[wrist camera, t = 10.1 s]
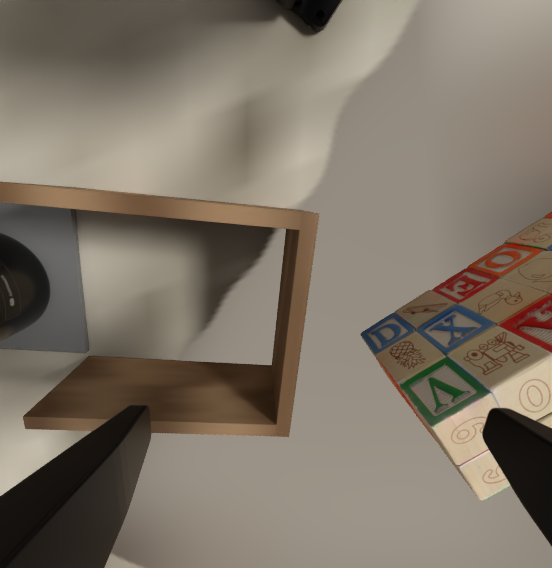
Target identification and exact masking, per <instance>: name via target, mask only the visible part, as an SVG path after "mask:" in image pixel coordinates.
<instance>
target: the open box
mask: <svg viewBox="0 0 552 568" xmlns="http://www.w3.org/2000/svg"><path fill="white" fill-rule="evenodd" d="M0 202H6V203H16V204H27V205H38V206H48V207H59V208H70V209H81V210H91V211H102V212H113V213H123V214H134V215H145V216H156V217H166V218H177V219H188V220H198V221H209V222H220V223H231V224H241V225H252V226H263V227H273V228H284V229H286V237H285V246H284V256H283V264H282V274H281V283H280V293H279V303H278V312H277V321H276V331H275V341H274V350H273V359H272V365H253V364H232V363H214V362H213V363H212V362H194V361H175V360H156V359H136V358H117V357H97V356H89V357H88V358H87V359H86V360H84V361H83V362H82V363H81V364H80V365H79V366H78V367H77V368H76V369H75V370H73V371H72V372H71V373H70V374H69V375H68V376H67V377H66V378H65V379H64V380H62V381H61V382H60V383H59V384H58V385H57V386H56V387H55V388H54V389H53V390H51V391H50V392H49V393H48V394H47V395H46V396H45V397H44V398H43V399H42V400H41V401H39V402H38V403H37V404H36V405H35V406H34V407H33V408H32V409H31V410H30V411H28V412H27V413H26V414H25V415H24V416H23V420H24V425H25V429H48V430H82V431H94V430H95V429H96V428H98V427H99V426H101V425H102V424H103V423H105V422H106V421H108V420H109V419H111V418H112V417H113V416H115V415H116V414H118V413H119V412H120V411H122V410H123V409H125V408H126V407H128V406H129V405H132V404H146V405H148V406H149V409H150V420H151V433H181V434H215V435H216V434H217V435H248V436H282V437H289V432H290V425H291V417H292V410H293V402H294V396H295V388H296V381H297V373H298V366H299V359H300V352H301V344H302V337H303V330H304V322H305V315H306V307H307V300H308V292H309V285H310V278H311V271H312V263H313V256H314V249H315V241H316V234H317V227H318V219H319V214H318V213H313V212H308V211H303V210H296V209H286V208H276V207H266V206H256V205H245V204H235V203H225V202H215V201H205V200H195V199H185V198H175V197H165V196H155V195H145V194H135V193H125V192H115V191H105V190H95V189H85V188H75V187H62V186H49V185H36V184H23V183H10V182H0Z"/></svg>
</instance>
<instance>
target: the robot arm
mask: <svg viewBox="0 0 552 568" xmlns="http://www.w3.org/2000/svg"><path fill="white" fill-rule="evenodd" d="M277 1H278V2H279V3H280V4H281V5H282V6H283V7H284V8H286V9H292V10H293V11H294V12H295V13H296V14H297V15H298V16H299V17H300V18H302V19H303V20H304V21H305V22H306V23H307V24H308V25H309V26H310V27H311V28H312V29H313V30H315V31H322V30H323V29H324V28H325V27H326V25H327V24H328V22H329V21H330V19H331V18H332V16H333V14H334V13H335V11H336V10H337V8H338V7H339V5H340V3H341V2H342V0H277ZM316 15H321V16H322V18H323V21H320V22H319V21H317V20H316V18H315V16H316ZM482 436H483V440H484V442H485V444H486V446H487V447H488V449H489V451H490V452H491V454H492V456H493V457H494V459H495V460H496V462H497V464H498V465H499V467H500V469H501V470H502V472H503V474H504V475H505V477H506V479H507V480H508V482H509V484H510V485H511V487H512V488H513V490H514V492H515V493H516V495H517V497H518V498H519V500H520V501H521V503H522V504H523V506H524V507H525V509H526V510H527V512H528V513H529V515H530V516H531V518H532V519H533V521H534V522H535V523H536V525H537V526H538V528H539V529H540V530H541V532H542V533H543V535H544V536H545V537H546V539H547V540H548V542H549V543H550V545H551V546H552V428H550V427H548V426H546V425H544V424H542V423H539V422H537V421H535V420H533V419H531V418H529V417H527V416H524V415H522V414H520V413H518V412H516V411H514V410H512V409H509V408H492V409H491V410H490V411H489V413H488V416H487V419H486V422H485V425H484V428H483V431H482ZM150 439H151V420H150V409H149V406H148V405H146V404H132V405H129V406H128V407H126V408H125V409H123V410H122V411H120V412H119V413H118V414H116V415H115V416H113V417H112V418H111V419H109V420H108V421H106V422H105V423H103V424H102V425H101V426H99V427H98V428H96V429H95V430H94V431H92V432H91V433H89V434H88V435H87V436H85V437H84V438H82V439H81V440H79V441H78V442H77V443H75V444H74V445H72V446H71V447H70V448H68V449H67V450H65V451H64V452H62V453H61V454H60V455H58V456H57V457H55V458H54V459H53V460H51V461H50V462H48V463H47V464H45V465H44V466H43V467H41V468H40V469H38V470H37V471H36V472H34V473H33V474H31V475H30V476H28V477H27V478H26V479H24V480H23V481H21V482H20V483H19V484H17V485H16V486H14V487H13V488H11V489H10V490H9V491H7V492H6V493H4V494H3V495H2V496H0V568H104V567H105V565H106V562H107V560H108V558H109V555H110V553H111V551H112V548H113V546H114V543H115V541H116V539H117V536H118V534H119V532H120V529H121V527H122V524H123V521H124V519H125V517H126V514H127V511H128V509H129V506H130V503H131V500H132V497H133V493H134V490H135V487H136V484H137V481H138V478H139V474H140V471H141V468H142V465H143V462H144V459H145V456H146V452H147V449H148V446H149V443H150Z"/></svg>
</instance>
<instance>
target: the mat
mask: <svg viewBox="0 0 552 568" xmlns="http://www.w3.org/2000/svg"><path fill="white" fill-rule="evenodd" d="M0 233H2V234H5V235H7V236H10V237H12V238H14V239H16V240H17V241H19V242H21V243H22V244H23V245H25V246H26V247H27V248H29V249H30V250H31V251H32V252H33V253H34V254H35V255H36V256H37V258H38V259H39V260H40V262H41V263H42V265H43V266H44V268H45V270H46V272H47V275H48V278H49V282H50V300H49V304H48V306H47V308H46V310H45V312H44V313H43V315H42V316H41V317H40V318H39V319H38V320H37V321H36V322H35V323H33V324H32V325H30V326H29V327H27V328H25V329H24V330H22V331H20V332H18V333H16V334H14V335H12V336H10V337H8V338H7V339H5V340H3V341H1V342H0V349H17V350H37V351H56V352H75V353H86V352H88V351H89V345H88V335H87V326H86V316H85V306H84V296H83V286H82V277H81V267H80V257H79V247H78V238H77V228H76V218H75V209H67V208H56V207H46V206H35V205H24V204H14V203H3V202H0Z"/></svg>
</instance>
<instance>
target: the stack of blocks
mask: <svg viewBox="0 0 552 568" xmlns="http://www.w3.org/2000/svg"><path fill="white" fill-rule="evenodd" d="M361 336H362V338H363V339H364V341H365V342H366V344H367V345H368V347H369V348H370V350H371V351H372V353H373V354H374V356H375V357H376V359H377V360H378V362H379V363H380V365H381V367H382V368H383V370H384V371H385V373H386V374H387V376H388V377H389V379H390V380H391V382H392V383H393V384H394V386H395V387H396V389H397V390H398V391H399V393H400V394H401V395H402V397H403V398H404V399H405V400H406V402H407V403H408V404H409V406H410V407H411V408H412V409H413V411H414V413H415V414H416V416H417V417H418V418H419V419H420V421H421V422H422V423H423V425H424V426H425V427H426V428H427V430H428V431H429V432H430V433H431V435H432V436H433V437H434V439H435V440H436V441H437V443H438V444H439V445H440V447H441V448H442V450H443V451H444V453H445V454H446V455H447V457H448V458H449V459H450V461H451V462H452V464H453V465H454V466H455V467H456V469H457V470H458V472H459V473H460V474H461V476H462V477H463V478H464V480H465V481H466V482H467V484H468V485H469V486H470V488H471V489H472V490H473V492H474V493H475V494H476V496H477V497H478V498H479V500H481V501H482V500H485V499H487V498H489V497H490V496H492V495H494V494H495V493H498V492H500V491H501V490H503V489H505V488H507V487H509V486H510V484H509V482H508V480H507V479H506V477H505V475H504V474H503V472H502V470H501V469H500V467H499V465H498V464H497V462H496V460H495V459H494V457H493V456H492V454H491V452H490V451H489V449H488V447H487V446H486V444H485V442H484V440H483V436H482V431H483V428H484V425H485V422H486V419H487V416H488V413H489V411H490V410H491V409H492V408H509V409H512V410H514V411H516V412H518V413H520V414H522V415H524V416H527V417H529V418H531V419H533V420H535V421H537V422H539V423H542V424H544V425H546V426H548V427H550V428H552V212H551V213H549V214H548V215H546V216H545V217H544V218H542V219H540V220H538V221H536V222H535V223H533V224H531V225H530V226H528V227H527V228H525V229H524V230H522V231H520V232H519V233H517V234H515V235H514V236H512V237H511V238H509V239H508V240H506V241H505V243H504V244H503V245H501V246H499V247H497V248H496V249H495V250H493V251H491V252H490V253H488V254H487V255H485V256H484V257H482V258H480V259H479V260H477V261H475V262H474V263H472V264H471V265H469V266H468V268H466V269H464V270H462V271H461V272H459V273H457V274H456V275H454V276H452V277H451V278H449V279H448V280H446V281H445V282H443V283H441V284H440V285H438V286H437V287H435V288H434V289H433V290H429V291H427V292H425V293H423V294H422V295H420V296H419V297H417V298H416V299H414V300H413V301H411V302H409V303H408V304H406V305H405V306H403V307H401V308H399V309H398V310H396V311H395V312H394V313H392V314H390V315H389V316H387V317H385V318H384V319H382V320H380V321H379V322H378V323H376V324H375V325H373V326H371V327H370V328H368V329H367V330H365V331H363V332H362V333H361Z"/></svg>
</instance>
